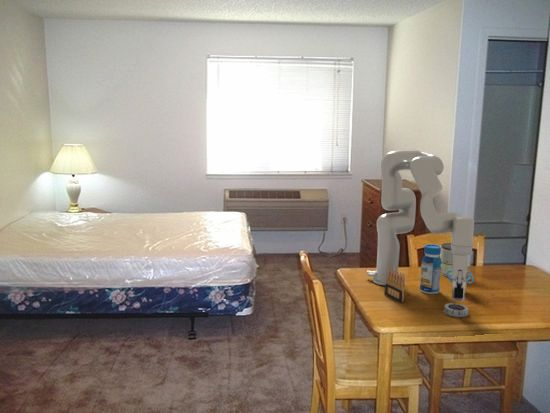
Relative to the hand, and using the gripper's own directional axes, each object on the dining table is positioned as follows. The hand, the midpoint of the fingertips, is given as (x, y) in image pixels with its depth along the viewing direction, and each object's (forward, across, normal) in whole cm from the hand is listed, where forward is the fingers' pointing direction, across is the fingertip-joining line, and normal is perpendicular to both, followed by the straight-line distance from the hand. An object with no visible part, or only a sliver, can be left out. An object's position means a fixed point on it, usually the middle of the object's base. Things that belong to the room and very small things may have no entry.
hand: (458, 295), depth 194 cm
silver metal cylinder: (+1, 0, 0) cm, 1 cm away
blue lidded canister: (+7, -22, -11) cm, 26 cm away
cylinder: (+7, -27, +1) cm, 28 cm away
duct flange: (+7, 0, 0) cm, 7 cm away
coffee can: (+7, -51, -3) cm, 52 cm away
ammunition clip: (+7, -7, -24) cm, 26 cm away
